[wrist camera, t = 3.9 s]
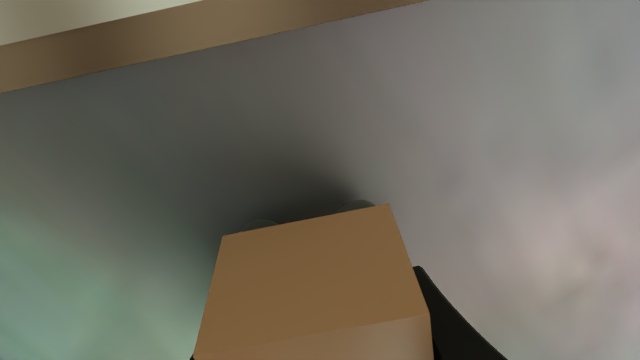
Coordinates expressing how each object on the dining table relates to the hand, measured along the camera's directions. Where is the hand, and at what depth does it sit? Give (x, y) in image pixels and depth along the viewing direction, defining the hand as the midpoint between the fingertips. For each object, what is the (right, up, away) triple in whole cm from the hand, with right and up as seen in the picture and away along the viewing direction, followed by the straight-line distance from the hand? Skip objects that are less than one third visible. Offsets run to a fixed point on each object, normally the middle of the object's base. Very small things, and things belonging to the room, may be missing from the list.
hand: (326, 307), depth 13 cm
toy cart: (0, +1, +2) cm, 2 cm away
